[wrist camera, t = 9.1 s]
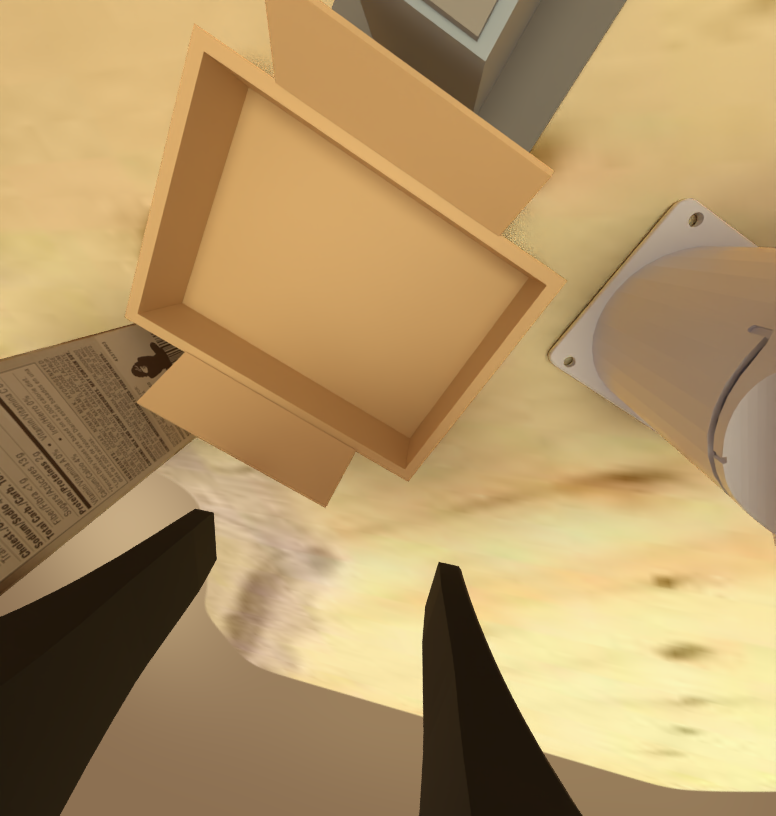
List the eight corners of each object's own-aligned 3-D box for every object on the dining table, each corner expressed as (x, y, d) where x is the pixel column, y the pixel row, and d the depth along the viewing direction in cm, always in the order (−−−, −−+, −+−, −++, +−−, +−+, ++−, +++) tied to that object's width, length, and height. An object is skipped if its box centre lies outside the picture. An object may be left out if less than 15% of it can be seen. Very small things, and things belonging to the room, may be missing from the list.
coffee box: (124, 448, 24) (-349, 757, 10) (59, 360, 22) (-678, 591, 8) (236, 409, 22) (-172, 744, 7) (175, 305, 20) (-582, 492, 5)
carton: (571, 235, 16) (640, 231, 10) (397, 466, 22) (382, 541, 16) (262, 16, 14) (150, -124, 9) (167, 333, 20) (67, 367, 15)
